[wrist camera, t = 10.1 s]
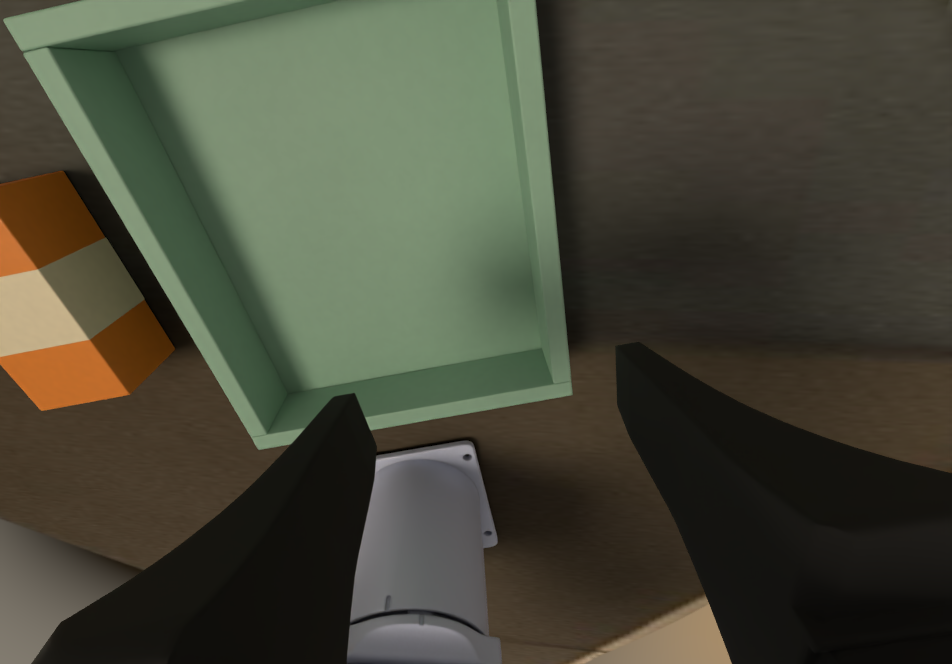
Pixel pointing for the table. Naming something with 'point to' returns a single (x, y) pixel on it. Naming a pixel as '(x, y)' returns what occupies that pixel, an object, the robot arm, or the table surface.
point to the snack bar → (68, 301)
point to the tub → (328, 193)
